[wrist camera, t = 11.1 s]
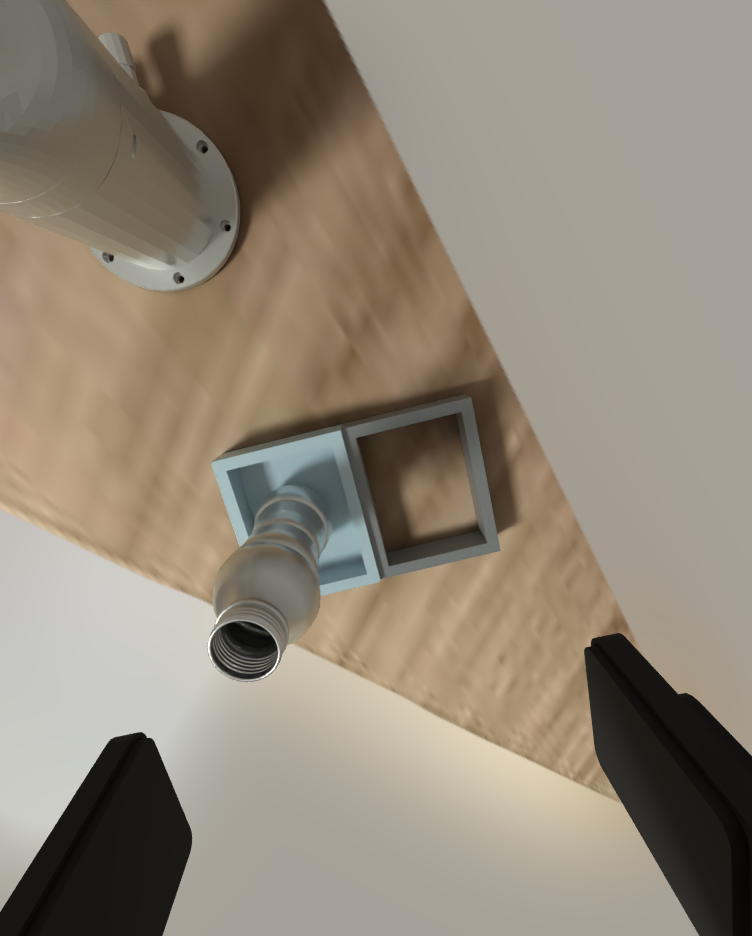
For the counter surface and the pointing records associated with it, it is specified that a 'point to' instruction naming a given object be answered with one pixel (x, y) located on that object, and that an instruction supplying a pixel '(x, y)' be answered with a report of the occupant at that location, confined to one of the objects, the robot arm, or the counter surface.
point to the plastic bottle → (270, 584)
